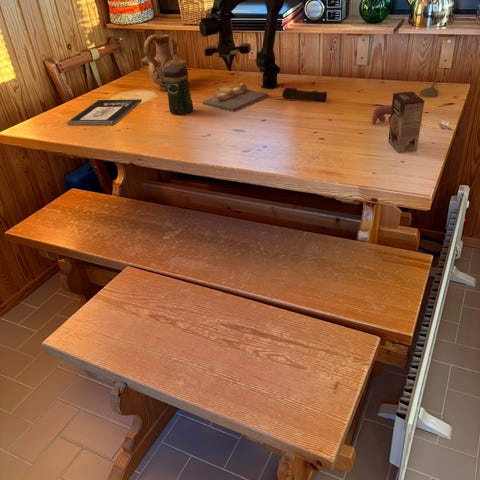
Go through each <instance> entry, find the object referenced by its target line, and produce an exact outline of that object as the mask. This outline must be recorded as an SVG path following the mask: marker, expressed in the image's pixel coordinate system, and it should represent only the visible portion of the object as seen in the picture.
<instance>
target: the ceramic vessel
mask: <svg viewBox="0 0 480 480" xmlns="http://www.w3.org/2000/svg"><path fill="white" fill-rule="evenodd" d="M153 41H154V43H155V49H156V54H155V55H154V54H153V52H151V50H150V49H151V45H152V43H153ZM178 46H179V43H178V41H175V40H174V39H173V38H171V48H170V35H169V34H165V33H164V34H163V33H162V34H150V35H149V36H148V37H147V38H146V39H145V42H144V44H143V52H144V54H145V57H144V58H142V59H141V62H142V63H145V64H148V73H149V76H150V79H151V81H152V82H153V83H154V84H156V85H158V86H159V89H160V90H162V91H167V86H166V82H165V80H164V76H163V69H164V68H165V67H167V66H186V65H187V61H186V60H184V59H183V58H182V55H180V53H179V52H178Z"/></svg>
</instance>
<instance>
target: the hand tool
mask: <svg viewBox="0 0 480 480" xmlns="http://www.w3.org/2000/svg"><path fill="white" fill-rule="evenodd" d="M327 94H328V93H327V91H315V90H314V91H309V90H299V89H298V88H296V87H294V88H292V87H285V88H284V89H283V90H282V95H281V96H282V98H283V99H287V100H292V101H295V100H306V101H307V100H310V101H316V102H317V101H318V102H319V101H320V102H321V101H322V103H325V102H327V98H328V95H327Z"/></svg>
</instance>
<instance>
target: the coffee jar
mask: <svg viewBox="0 0 480 480" xmlns="http://www.w3.org/2000/svg"><path fill="white" fill-rule="evenodd" d="M163 76H164V80H165V82H166V86H167V90H166V91H167V99H168V110H169V113H171V114H172V115H186V114H191V113H192V112H193V111H194V104H193V100H192V96H191V91H190V86H189V81H188V80H189V72H188V68H187V67H186V65H184V66H167V67H165V68H164V69H163Z"/></svg>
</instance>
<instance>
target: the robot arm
mask: <svg viewBox="0 0 480 480" xmlns="http://www.w3.org/2000/svg"><path fill="white" fill-rule="evenodd" d="M245 1H247V0H213V3H212V4H213V5H212V7H211V10H210V12H209V14H208V16H207V17H200V22H199V26H198V29H199V32H200V35H201V37H202V38H206V37H209V36H214V35H217V34H218V44H217V45H208V46H207V47H205V48H204V52H203V53H204V56H205V57H213V55H214V54H217V53H218V58H221V59H222V60H223V62H224V64H225V66H226V68H227V70H228V72H232V69H233V63H234V59H235V57H236V56H237V55H238V53H240V54H241V55H246V54H250V52H251V51H252V45H251V44H250V43H249V42H247V43H245V42H244V43H240V45H239V46H236V45H235V44H236V43H235V41H234V40H235V39H234V32H233V23H232V21H233V20H232V19H235V18H236V17H237V15H235V14H234V12H233V11H234V10H235V9H236V8H237V6H238V5H240V4H241V3H244V2H245ZM285 1H286V0H264V5H265V8H266V18H265V26H264V32H263V41H262V48H261V49H260V51H256V55H255V57H256V58H255V60H254V62H256V67H257V68H258V70H259V72H261V73H262V84H261V86H260V87H261V88H264V89H268V90H269V89H270V90H273V89H275V88H277V87H279V86H281V84H280V83H278V74H280V72H281V67H280V66H279V65H277V64H276V55H275V51H274V45H275V39H276V34H277V27H278V21H279V20H278V19H279V13H281V11H282V9H283V7H284V5H285Z"/></svg>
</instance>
